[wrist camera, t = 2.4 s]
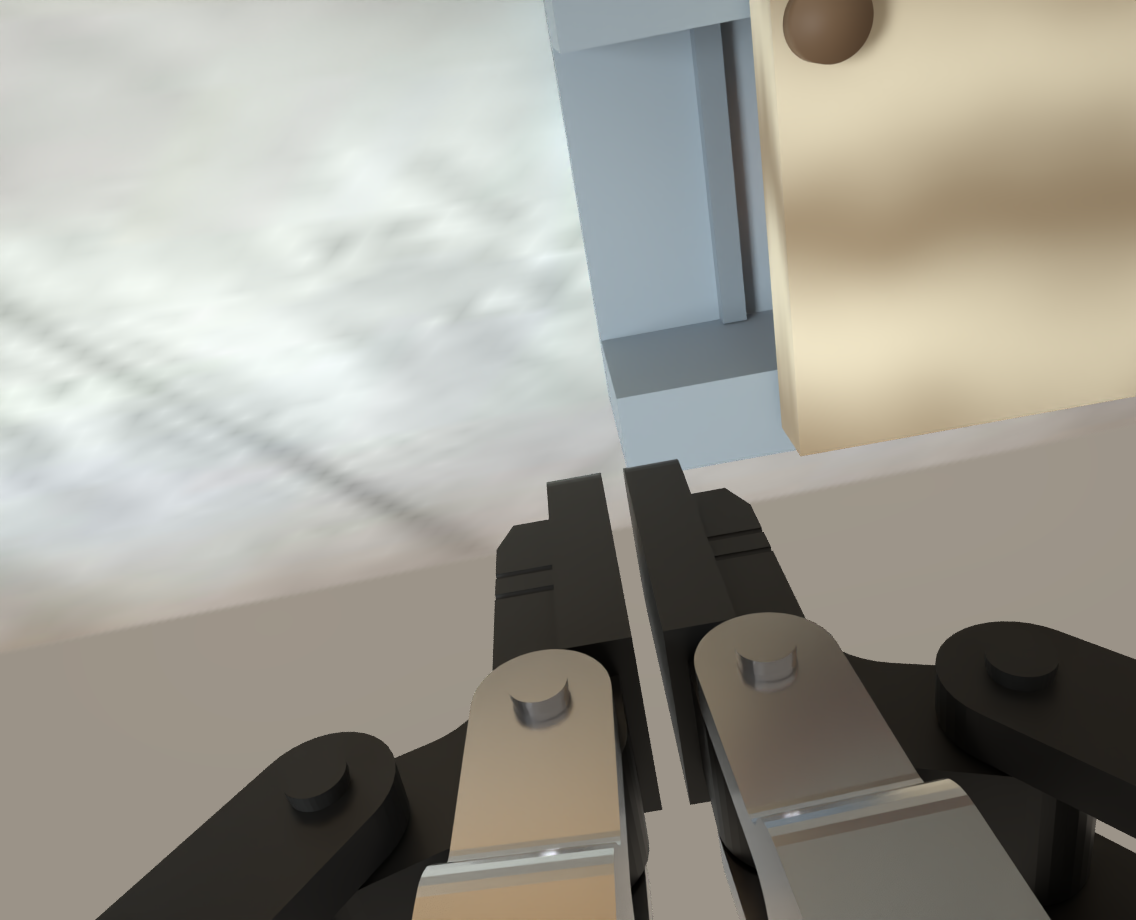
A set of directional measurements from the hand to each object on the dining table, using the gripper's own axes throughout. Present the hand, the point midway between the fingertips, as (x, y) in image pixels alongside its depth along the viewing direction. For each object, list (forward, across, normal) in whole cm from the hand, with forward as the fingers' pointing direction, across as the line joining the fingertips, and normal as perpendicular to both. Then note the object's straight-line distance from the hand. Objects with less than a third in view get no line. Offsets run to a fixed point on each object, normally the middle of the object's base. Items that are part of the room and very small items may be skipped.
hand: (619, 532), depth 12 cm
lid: (+14, -10, 0) cm, 18 cm away
